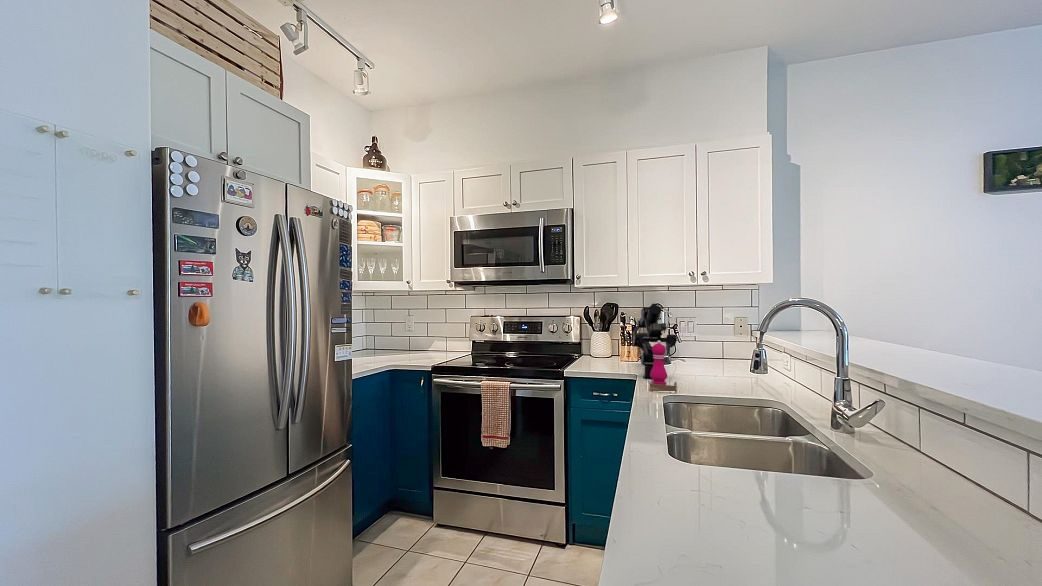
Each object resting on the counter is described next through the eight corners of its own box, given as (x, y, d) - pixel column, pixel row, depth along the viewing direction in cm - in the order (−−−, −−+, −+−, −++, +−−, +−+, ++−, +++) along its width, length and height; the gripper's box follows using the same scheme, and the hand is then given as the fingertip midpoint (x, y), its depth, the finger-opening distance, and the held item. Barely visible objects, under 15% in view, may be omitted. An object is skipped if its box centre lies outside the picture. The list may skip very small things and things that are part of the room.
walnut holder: (651, 386, 191) (651, 380, 191) (676, 388, 187) (676, 381, 187) (649, 391, 182) (649, 384, 182) (675, 393, 178) (675, 386, 178)
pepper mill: (647, 385, 194) (647, 340, 194) (653, 382, 199) (654, 339, 199) (663, 387, 189) (664, 341, 189) (669, 385, 195) (669, 340, 195)
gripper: (634, 316, 202) (638, 343, 191) (676, 317, 200) (682, 344, 189) (631, 332, 210) (635, 358, 199) (671, 332, 208) (677, 359, 197)
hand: (657, 354), depth 196 cm, fingers open, 9 cm apart
